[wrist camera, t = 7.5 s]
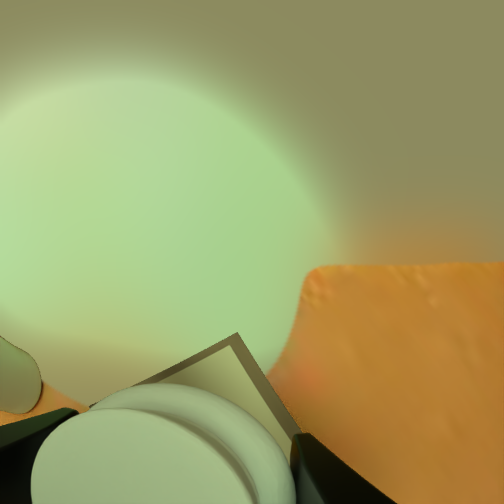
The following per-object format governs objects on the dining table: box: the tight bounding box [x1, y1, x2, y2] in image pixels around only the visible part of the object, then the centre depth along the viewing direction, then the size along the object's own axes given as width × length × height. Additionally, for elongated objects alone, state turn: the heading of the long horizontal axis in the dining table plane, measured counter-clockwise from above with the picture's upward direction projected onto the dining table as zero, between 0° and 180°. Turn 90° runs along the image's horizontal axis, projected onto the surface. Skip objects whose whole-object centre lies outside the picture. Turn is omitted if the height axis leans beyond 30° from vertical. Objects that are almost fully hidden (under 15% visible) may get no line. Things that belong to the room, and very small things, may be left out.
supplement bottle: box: [31, 383, 296, 504], centre depth 8 cm, size 6×6×10 cm
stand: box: [89, 332, 302, 466], centre depth 16 cm, size 11×11×4 cm
